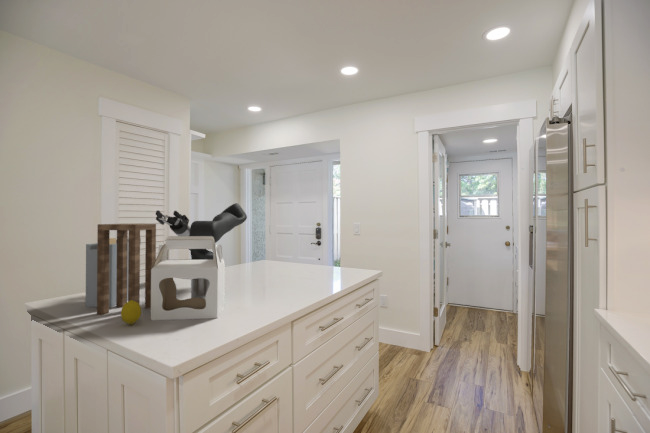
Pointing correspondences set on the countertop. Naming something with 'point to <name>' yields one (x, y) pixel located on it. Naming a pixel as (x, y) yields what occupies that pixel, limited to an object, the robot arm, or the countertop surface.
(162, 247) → the gable box
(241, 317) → the countertop surface
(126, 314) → the lemon
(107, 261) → the walnut stand
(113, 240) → the bar
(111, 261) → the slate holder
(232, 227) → the robot arm
